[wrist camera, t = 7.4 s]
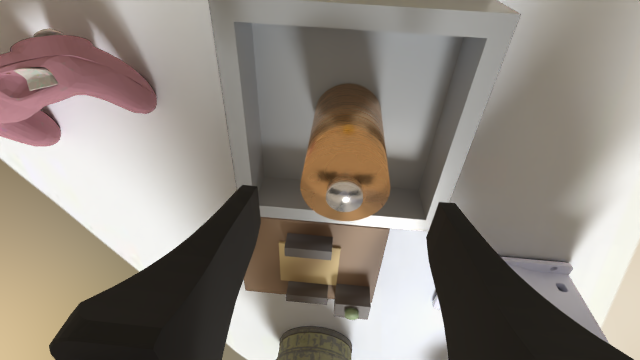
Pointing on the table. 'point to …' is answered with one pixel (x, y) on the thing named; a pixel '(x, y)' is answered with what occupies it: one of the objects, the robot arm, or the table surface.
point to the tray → (368, 71)
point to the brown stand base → (318, 263)
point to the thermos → (314, 345)
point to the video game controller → (61, 83)
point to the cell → (346, 156)
